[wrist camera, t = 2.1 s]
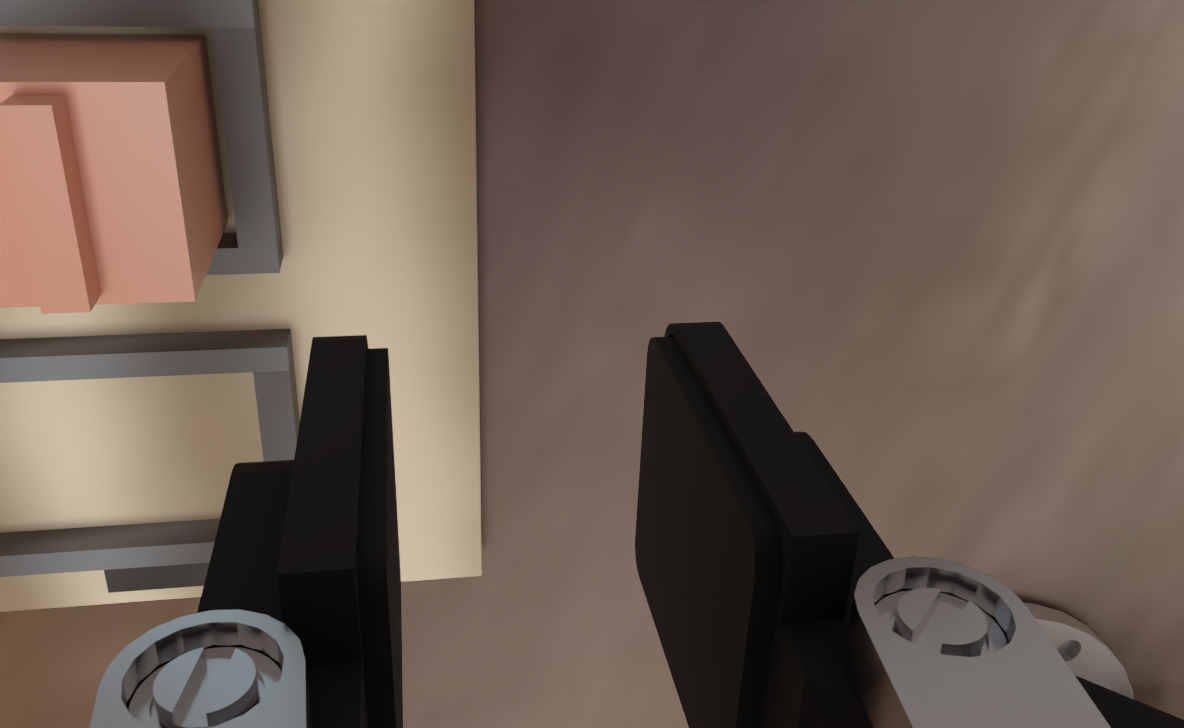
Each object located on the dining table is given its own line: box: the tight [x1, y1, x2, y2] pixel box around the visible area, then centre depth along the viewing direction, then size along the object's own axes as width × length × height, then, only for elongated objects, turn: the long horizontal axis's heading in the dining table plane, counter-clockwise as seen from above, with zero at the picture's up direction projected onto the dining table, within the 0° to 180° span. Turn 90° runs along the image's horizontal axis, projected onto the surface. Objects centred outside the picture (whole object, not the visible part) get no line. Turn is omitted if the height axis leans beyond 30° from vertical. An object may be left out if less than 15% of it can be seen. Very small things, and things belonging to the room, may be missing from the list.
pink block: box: [0, 34, 228, 314], centre depth 20 cm, size 4×4×5 cm
